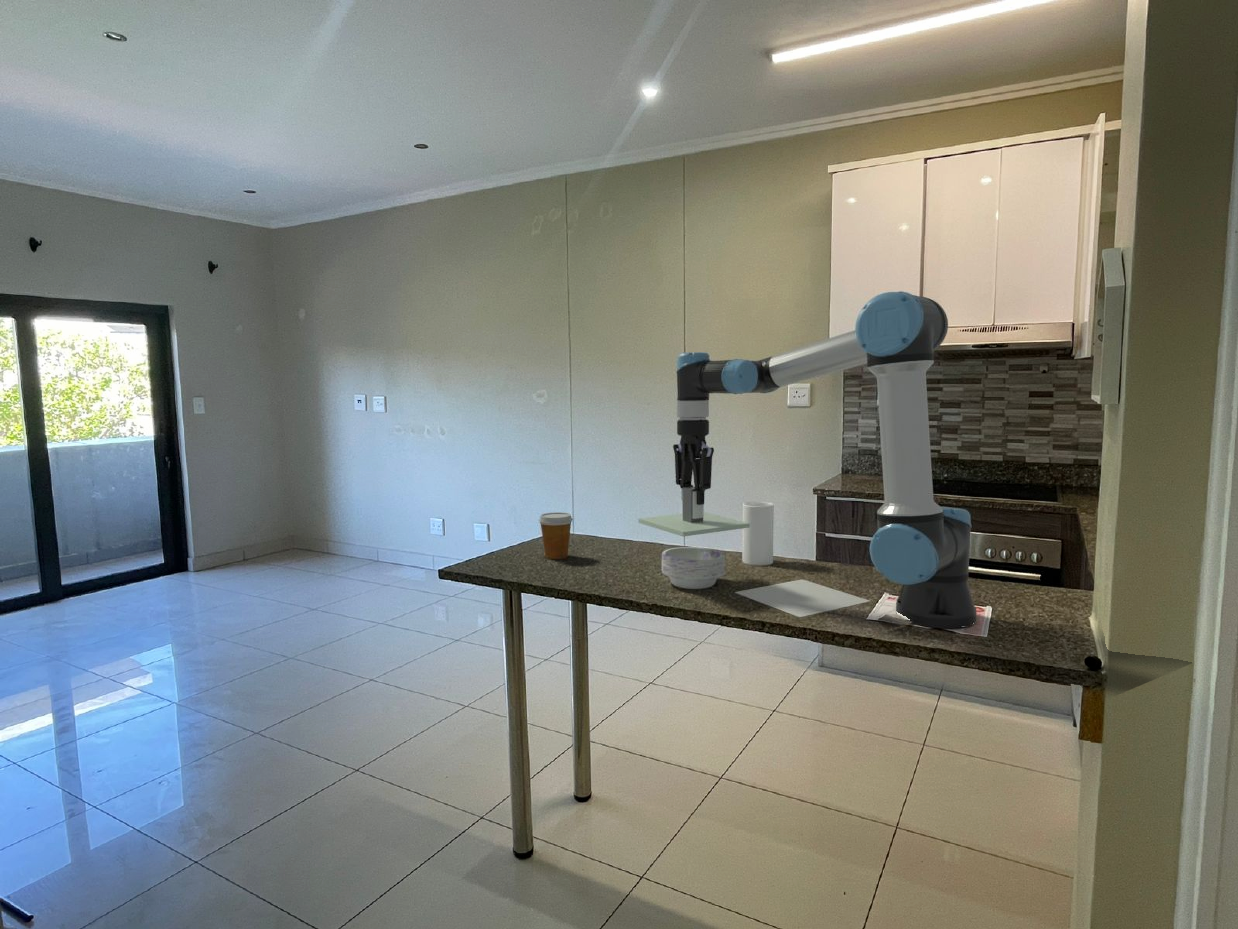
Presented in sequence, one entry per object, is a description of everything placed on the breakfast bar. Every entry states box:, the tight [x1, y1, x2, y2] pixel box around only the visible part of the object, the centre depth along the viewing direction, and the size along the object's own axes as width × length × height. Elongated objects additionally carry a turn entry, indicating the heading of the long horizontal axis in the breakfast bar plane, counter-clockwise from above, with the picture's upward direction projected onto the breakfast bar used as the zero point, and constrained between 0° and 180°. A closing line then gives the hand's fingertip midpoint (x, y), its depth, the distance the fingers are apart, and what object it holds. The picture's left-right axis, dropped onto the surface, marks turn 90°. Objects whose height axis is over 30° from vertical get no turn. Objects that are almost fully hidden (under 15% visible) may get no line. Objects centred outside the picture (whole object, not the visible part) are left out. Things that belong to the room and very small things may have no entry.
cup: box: [741, 501, 775, 566], centre depth 193 cm, size 8×8×16 cm
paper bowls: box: [661, 546, 726, 590], centre depth 172 cm, size 15×15×8 cm
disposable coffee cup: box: [538, 512, 573, 560], centre depth 202 cm, size 10×10×12 cm
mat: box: [734, 579, 871, 618], centre depth 161 cm, size 21×21×1 cm
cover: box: [638, 486, 750, 537], centre depth 171 cm, size 19×19×9 cm
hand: (692, 516), depth 171 cm, fingers closed on cover, 3 cm apart
